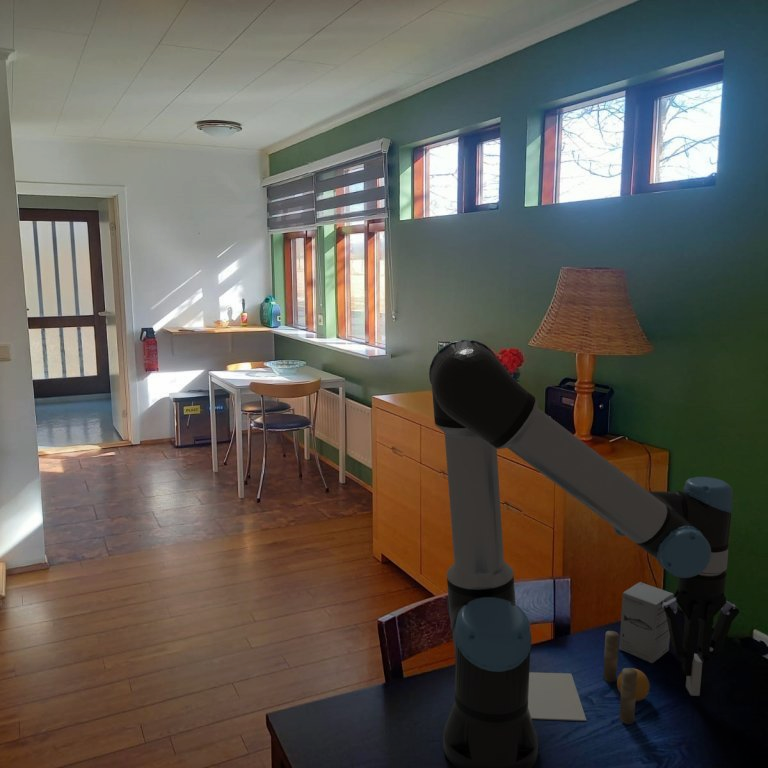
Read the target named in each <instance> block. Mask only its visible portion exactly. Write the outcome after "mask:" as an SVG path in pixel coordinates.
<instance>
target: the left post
mask: <svg viewBox="0 0 768 768" xmlns="http://www.w3.org/2000/svg"><path fill="white" fill-rule="evenodd" d="M604 637H605V639H604V656H603V674H602V679H604V681H606V682H608V683H613V682H617V679H618V676H617V675H618V663H619V661H618V659H619V658H618V657H619V643H620V633H618V632H617V631H614V630H607V631H606V632H605V635H604Z"/></svg>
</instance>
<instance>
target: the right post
mask: <svg viewBox="0 0 768 768" xmlns="http://www.w3.org/2000/svg"><path fill="white" fill-rule="evenodd" d="M632 668H633V667H632ZM632 668H631V667H624V668H622V670H621V672H622V685H621V693H620V701H619V702H620V705H619V720H620V722H621V723H623V724H626V725H632V724H633V723H634V722H635V716H636V715H635V714H636V713H635V712H636V701H635V700H636V685H637V671H636V670H634V669H632Z"/></svg>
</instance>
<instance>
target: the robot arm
mask: <svg viewBox="0 0 768 768" xmlns="http://www.w3.org/2000/svg"><path fill="white" fill-rule="evenodd" d="M428 372H429V373H428V375H429V382H430V384H431V391H432V392H431V393H432V407H433V416H434V418H433V419H434V425H435V426H436V427H437V428H438V429H439V430H440V431H442V433H444V443H445V444H444V445H445V454H446V455H445V456H446V468H447V469H446V471H447V482H448V494H449V508H450V509H449V511H450V520H451V535H452V549H453V561H454V563H453V564H452V565H451V566H450V567H449V568H448V569H447V572H446V581H447V582H446V585H447V599H446V604H447V605H446V606H447V612H448V616H449V619H450V627H451V634H452V642H453V649H454V662H455V663H454V666H455V669H454V673H455V674H454V700H453V705H452V708H451V710H450V713H449V715H448V717H447V720H446V722H445V725H444V728H443V737H442V739H443V740H442V742H443V744H442V745H443V746H442V748H443V751H444V755H445V756H446V757H447V759H448V760H449V762H450V763H451V764H452V765H453V766H454V767H455V768H533V767H534V766H535V764H536V761H537V759H538V750H539V749H538V747H539V740H538V735H537V732H536V728H535V725H534V722H533V719H531V715H530V712H529V709H528V693H529V672H530V666H531V665H530V664H531V663H530V662H531V661H530V660H531V649H532V641H533V640H532V639H533V638H532V630H531V624H530V620H529V618H528V616H527V614H526V612H525V611H524V610H523V609H522V608H521V607H519V606H518V605H517V604H516V593H515V592H516V591H515V576H514V569H513V568H512V566H511V565H510V564H508V563H507V562H505V559H504V558H505V557H504V542H503V528H502V527H503V526H502V525H503V524H502V508H501V493H500V477H499V462H498V461H499V460H498V450H501V449H508V450H510V452H512V453H514V455H516V456H518V458H520V459H522V461H525V462H526V464H528V465H530V466H531V467H532V468H533V469H535V470H537V471H538V472H539V473H540V474H542V475H543V476H544V477H546V478H547V479H549V480H550V481H551V482H553V484H555V485H557V486H558V487H559V488H561V489H562V490H563V491H565V492H566V493H567V494H569V496H571V497H573V498H574V499H575V500H576V501H578V502H580V503H581V504H582V505H583V506H585V507H586V508H588V509H589V510H591V511H592V512H593V513H594V514H596V515H597V516H599V517H600V518H601V519H602V520H604V522H605V521H606V522H607V523H608V524H609V525H611V526H612V527H613V530H614V532H615V533H616V534H617V535H618V536H623V537H625V536H626V537H627V538H628V539H629V540H631V541H633V543H634V544H636V545H637V546H638V547H640V548H641V550H644V551H645V552H646V553H648V554H649V555H650V556H652V557H653V558H654V559H655V560H656V561H658V563H659V566H660V567H661V568H663V569H664V570H666V571H667V572H668V573H669V574H670V575H672V576H674V577H676V578H677V589H676V591H675V593H673V594H674V597H673V599H671V600H669V601H665V600H663V601H661V603H660V604H661V606H662V608H663V609H664V611H665V612H666V617H667V622H668V627H669V632H670V642H671V648H672V650H673V651H674V653H675V655H676V657H677V658H682V664H681V665H682V666H681V670H682V672H683V675H684V676H685V677H686V678H685V679H686V680H685V688H686V690H687V691H688V694H689V695H690V696H694V697H695V696H696V697H699V696H700V694H701V681H702V677H706V676H707V673H708V664H710V663H711V662H712V661H711V659H712V658H715V659H718V658H720V656H721V653H722V650H723V648H724V645H725V642H726V641H727V640H726V639H727V636H728V633H729V631H730V628H731V625H732V623H733V621H734V619H736V617H737V616H738V615H739V614H740V609H738V607H737V606H736V605H735V603H733V601H728V600H727V597H726V595H725V591H726V581H727V572H726V570H727V568H728V561H729V560H728V557H729V544H730V543H729V542H730V530H731V522H732V514H733V511H734V510H733V488H732V487H731V485H730V484H729V483H727V482H726V481H725V480H722V479H719V478H716V477H715V478H714V477H709V476H696V477H691V478H688V479H687V480H686V481H685V484H684V487H683V490H677V491H664V490H663V491H655V490H654V491H652V490H647V489H645V487H643V486H641V485H640V484H639V483H637V482H636V481H635V480H634V479H632V478H631V477H630V476H629V475H627V474H626V473H624V472H623V471H622V470H620V469H619V468H617V467H616V466H615V465H614V464H612V463H611V462H610V461H608V460H607V459H606V458H605V457H603V456H602V455H601V454H599V453H598V452H597V451H596V450H594V449H593V448H591V446H589V445H587V444H586V443H585V442H584V441H583V440H581V439H579V438H578V437H577V436H576V435H574V434H573V433H572V432H570V431H569V430H568V429H567V428H565V427H564V426H563V425H561V424H560V423H559V422H557V421H556V420H555V419H553V418H552V417H551V416H549V414H546V413H545V412H544V411H543V410H541V409H540V408H539V406H538V405H539V404H538V399H537V398H536V396H534V395H533V394H532V393H530V392H529V391H528V390H527V389H525V388H524V386H522V385H521V384H520V383H519V382H518V381H517V380H516V379H515V378H514V377H513V376H512V375H511V373H510V372H509V371H508V370H507V369H506V368H505V366H504V365H503V363H502V362H501V361H500V359H498V357H497V355H496V354H495V353H494V351H493V350H492V349H491V348H490V347H489V346H487V345H486V344H484V343H483V342H479V341H478V340H473V339H457V340H454V341H451V342H449V343H446V344H444V346H442V347H441V348H440V349H439V350H438V351H437V352H436V354H435V355H434V356H433V358H432V361H431V363H430V365H429V370H428ZM678 606H679V607H680V609H681V610H682V612H683V613H684V614H683V616H684V626H683V638H681V637H682V636H681V632H680V628H679V622H678V617H677V615H676V614H677V613H678ZM719 611H720V613H719ZM718 613H719V615H718V618H717V620H716V624H715V626H714V617H716V615H717V614H718ZM713 626H714V629H713ZM697 628H698V635H697ZM712 629H713V631H712ZM696 635H697V636H698V637H696ZM696 638H698V639H697V650H696V651H697V653H695V647H696Z"/></svg>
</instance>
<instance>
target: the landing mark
mask: <svg viewBox="0 0 768 768" xmlns="http://www.w3.org/2000/svg"><path fill="white" fill-rule="evenodd" d="M528 709H529V712H530V715H531V719H532V720H544V721H545V720H549V721H553V720H554V721H571V722H572V721H574V722H575V721H578V722H586V721H587V718H586V715H585V714H586V713H585V712H584V709H583V705H582V702H581V699H580V696H579V693H578V689H577V687H576V683H575V681H574V677H573V675H572V673H566V672H565V673H564V672H532V671H529V693H528Z"/></svg>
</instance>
